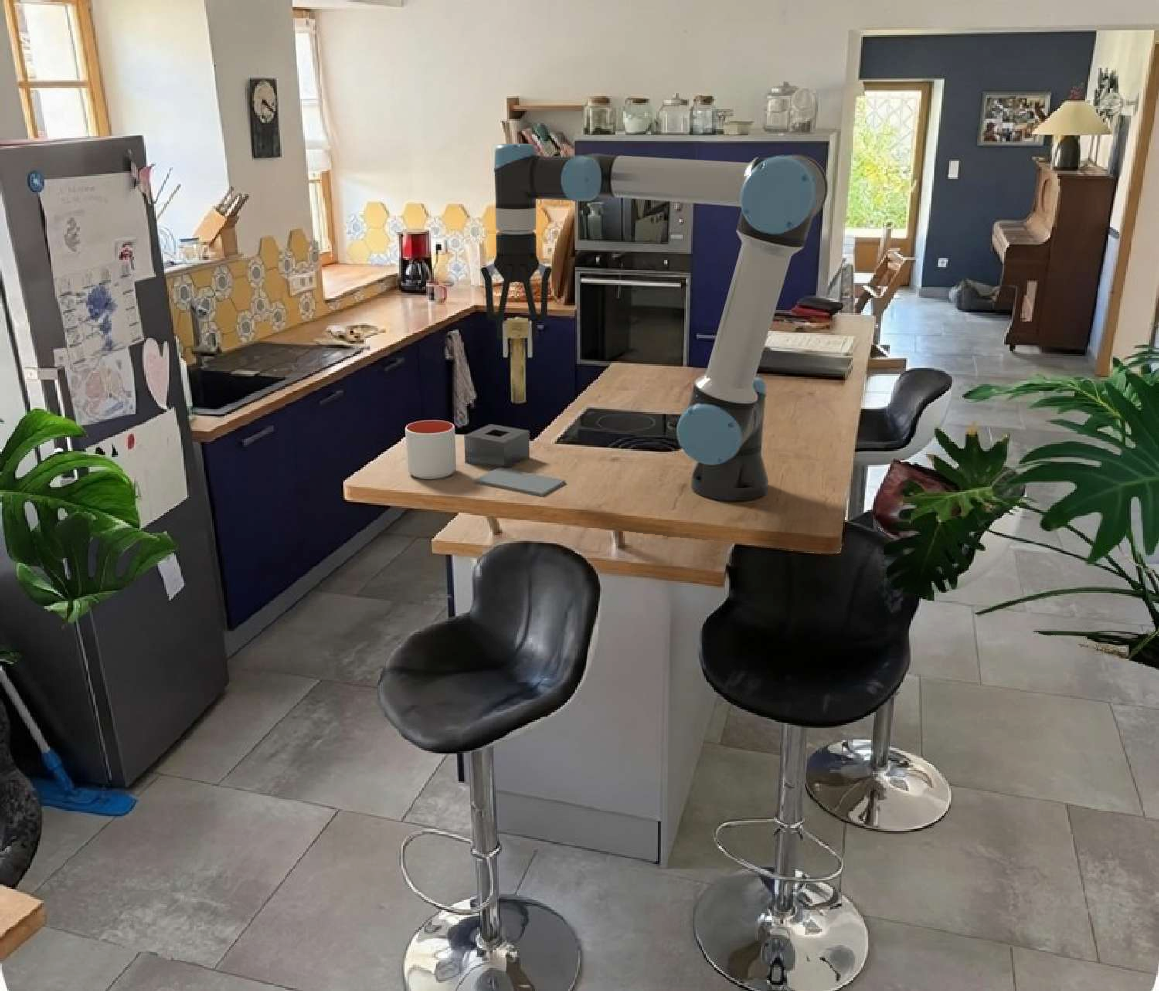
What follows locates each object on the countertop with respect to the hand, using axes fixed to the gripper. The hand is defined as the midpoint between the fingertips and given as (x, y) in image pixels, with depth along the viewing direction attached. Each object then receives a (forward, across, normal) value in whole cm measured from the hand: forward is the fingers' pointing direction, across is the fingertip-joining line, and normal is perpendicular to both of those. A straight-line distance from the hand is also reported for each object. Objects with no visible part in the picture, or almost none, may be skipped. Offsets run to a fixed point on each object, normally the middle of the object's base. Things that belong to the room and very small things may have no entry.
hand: (517, 355), depth 197 cm
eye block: (+26, +5, -15) cm, 30 cm away
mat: (+26, 0, 0) cm, 26 cm away
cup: (+26, +18, -6) cm, 33 cm away
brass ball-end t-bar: (+9, 0, 0) cm, 9 cm away
